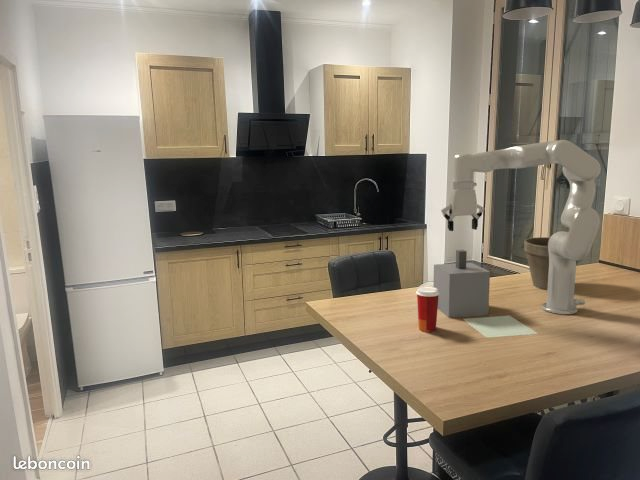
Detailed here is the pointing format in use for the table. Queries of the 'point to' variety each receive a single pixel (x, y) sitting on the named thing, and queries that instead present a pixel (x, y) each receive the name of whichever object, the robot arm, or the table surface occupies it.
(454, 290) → the grey knobbed cube
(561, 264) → the robot arm
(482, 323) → the mat
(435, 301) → the coffee cup
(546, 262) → the plant pot
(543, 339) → the table surface
